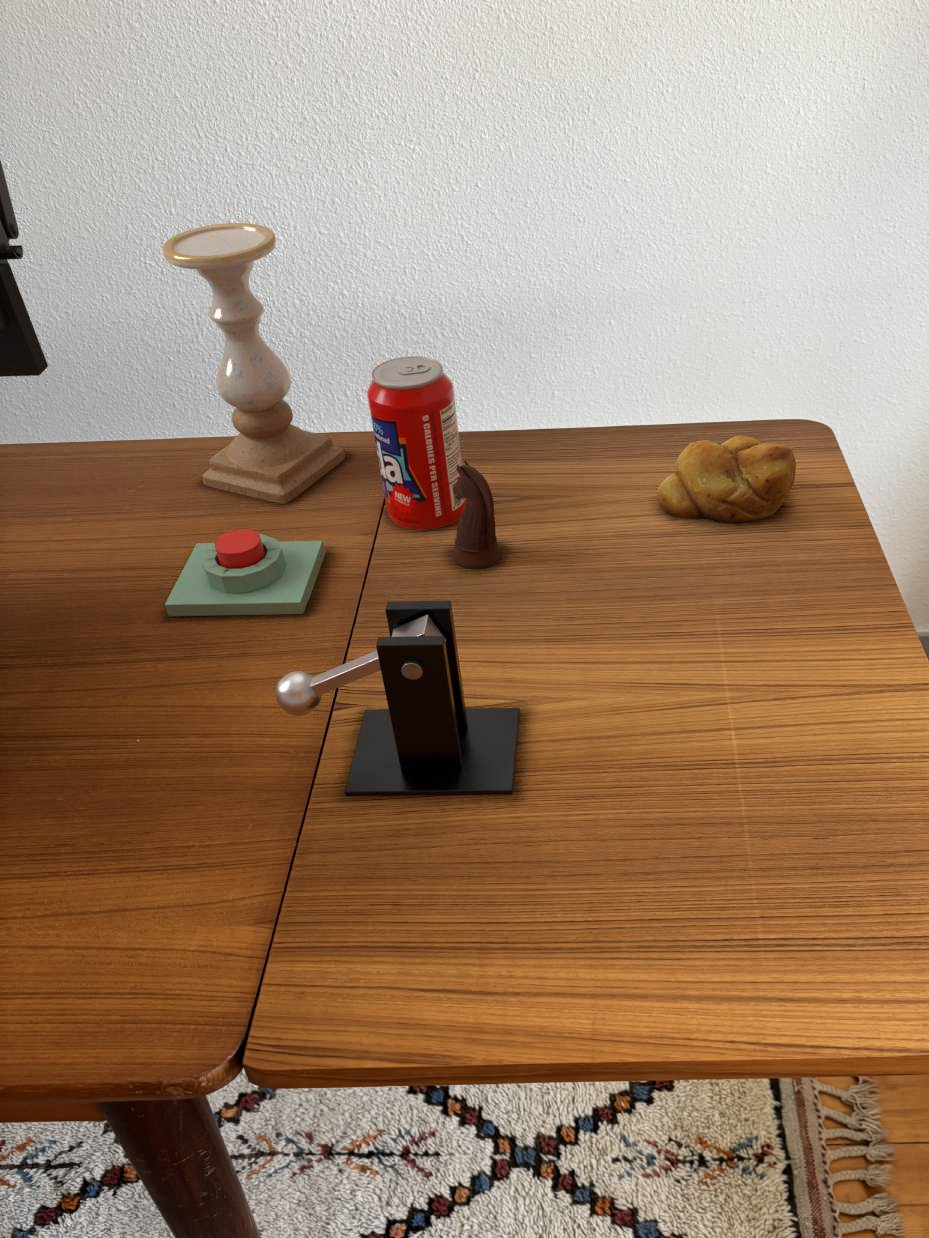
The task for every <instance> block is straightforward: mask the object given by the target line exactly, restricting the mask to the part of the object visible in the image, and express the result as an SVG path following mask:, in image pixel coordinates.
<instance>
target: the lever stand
mask: <svg viewBox="0 0 929 1238" xmlns="http://www.w3.org/2000/svg"><path fill="white" fill-rule="evenodd" d="M452 605H453V604H452V600H407V601H406V600H404V601H401V600H400V601H387V602H386V605H385V609H384V611H385V617H386V621H387V622H386V623H387V626H388V633H389V636H378V637H377V640H376V644H375V649H376V650H377V654H378V658H379V663H380V668H381V670H380V672H381V677H382V683H383V687H384V692H385V698H386V702H387V707H388V708H387V709H383V708H382V709H365V710H364V713H363V717H362V721H361V724H360V728H359V733H358V737H357V741H356V743H355V749H354V752H353V756H352V760H351V765H350V769H349V772H348V776H347V780H346V784H345V789H344V796H345V797H389V796H390V797H393V796H394V797H396V796H397V797H398V796H406V797H407V796H408V797H409V796H487V795H488V796H492V795H493V796H503V795H504V796H505V795H507V796H508V795H514V785H515V774H516V773H515V772H516V763H517V751H518V740H519V739H518V738H519V727H520V717H521V709H520V707H477V708H476V707H473V708H472V707H471V708H466V701H465V693H464V686H463V680H462V672H461V665H460V664H461V663H460V657H459V650H458V644H457V643H458V642H457V636H456V635H457V634H456V627H455V621H454V615H453V613H454V612H453V606H452ZM425 615H429V617H430V618H431V620H432V621H433V622H434V624H435V625H436V626H437V628H438V629H439V631H440V632H441V633H442V635H443V636H406V637H392V633H393V629H395V628H397V627H399V626H402V625H404V624H406V623H409V622H411V621H413V620H416V619H418V618H420V617H423V616H425ZM445 639H446V643H445Z"/></svg>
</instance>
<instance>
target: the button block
mask: <svg viewBox="0 0 929 1238" xmlns="http://www.w3.org/2000/svg"><path fill="white" fill-rule="evenodd" d="M258 534H259V535H260V537H261V541H262V544H263V548H264V552H265V557H264V559H263V560H261V561H260V562H258V563H257V564H255V565H252V566H249V567H245V568H242V569H228V568H225V567H222V566H221V564H220V562H219V559H218V556H217V552H216V549H215V542H197V543H196V544H195V546H194V548H193V549H192V551H191V554H190V555H189V558H188V559H187V561H186V563H185V565H184V567H183V569H182V571H181V572H180V575H179V577H178V579H177V580H176V582H175V584H174V586H173V588H172V590H171V592H170V593H169V596H168V597H167V599H166V601H165V603H164V608H165V610H166V613H167V616H168V617H198V616H199V617H201V616H204V617H205V616H206V617H207V616H209V617H210V616H257V615H258V616H260V615H261V616H262V615H266V616H267V615H303V614H305V611H306V607H307V604H308V602H309V601H310V598H311V595H312V593H313V590H314V587H315V584H316V581H317V578H318V576H319V573H320V570H321V567H322V565H323V561H324V559H325V556H326V550H325V545H324V541H323V540H292V541H291V540H289V541H278V540H277V539H276V538H275V537H271V536H268V535H266V534H262V533H258Z"/></svg>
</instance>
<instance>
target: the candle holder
mask: <svg viewBox="0 0 929 1238" xmlns="http://www.w3.org/2000/svg"><path fill="white" fill-rule="evenodd" d="M276 246H277V236H276V233H275V232H274V231H273V230H272V229H270V228H269V227H267V226H264V225H261V224H256V223H250V222H249V223H247V222H229V223H228V222H227V223H218V224H210V225H204V226H199V227H195V228H192V229H188V230H185V231H183V232H180V233H177V234H175V235H173V236H171V237H170V238H168V239H167V240H166V241H165V242H164V244H163V246H162V248H161V249H162V250H161V251H162V254H163V257H164V259H165V261H167V262H168V263H169V264H171V265H172V266H174V267H179V268H181V269H186V270H195V271H196V273H197V274H198V275H199V276H200V277H201V278H202V279H203V280H205V281H206V283H207V284H208V285H209V287H210V290H211V293H212V302H211V304H210V305H211V306H210V308H209V310H208V318H209V319H210V320H211V322H213V323H215V324H216V325H215V326H217V328H218V329H219V330H220V331H221V332H222V334H223V336H224V338H225V339H224V349H223V352H222V355H221V358H220V362H219V364H218V367H217V370H216V374H215V387H216V390H217V392H218V395H219V397H220V398H221V399H222V400H223V401H224V403H226V404H228V405H229V406H231V407H233V408H234V409H233V411H232V414H231V422H232V425H233V427H234V429H235V430H236V431H237V432H239V433H238V434H237V435H236V436H235V437H234V438H233V440H232V441H231V442H230V443H229V444H228V445H226V446H225V447H223V448H222V449H220V450H219V451H217V452H216V453H215V454H214V455H213V456H211V457H210V459H209V461H208V462H207V463H208V466H209V469H208V470H206V471H205V472H204V473H202V475H201V479H202V481H203V485H205V486H207V487H210V488H214V489H218V490H222V491H226V492H230V493H234V494H239V495H243V496H247V497H251V498H255V499H260V500H264V501H267V502H273V503H278V504H284V505H285V504H287V503H290V502H291V501H292V500H294V499H295V498H297V497H299V495H300V494H302V493H303V492H304V491H306V490H307V489H308V488H310V487H311V486H312V485H313V484H314V483H316V482H317V481H318V480H320V479H321V478H322V477H324V476H325V475H326V474H327V473H329V472H330V471H332V470H333V469H334V468H336V467H337V466H338V465H339V464H341V462H342V461H344V460H345V459H346V453H345V450H344V448H342V447H339V446H335V445H334V443H333V439H332V438H331V437H329V436H328V435H324V434H320V433H317V432H312V431H309V430H305V429H302V428H301V427H298V426H296V425H294V424H292V422H293V418H294V412H293V409H292V408H291V406H290V405H289V404H288V402H286V401H285V400H284V399H285V398H286V397H287V395H288V394H289V392H290V390H291V387H292V378H291V377H292V376H291V373H290V371H289V369H288V367H287V365H286V364H285V362H284V361H283V360H282V358H280V356H279V355H278V354H277V353H276V352H275V351H274V350H273V349H272V348H271V347H270V346H269V344H268V343H267V342H266V341H265V339H264V338H263V337H262V335H261V333H260V323H261V321H262V315H263V314H264V312H265V306H264V304H263V303H262V302H261V301H260V300H259V299H258V298H257V297H256V296H255V295H254V293H253V291H252V289H251V287H250V275H251V273H252V271H253V269H254V266H255V261H258V260H261V259H263V258H265V257H266V256H268V255H270V254H272V252H273V251H274V250H275V249H276Z"/></svg>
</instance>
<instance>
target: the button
mask: <svg viewBox="0 0 929 1238" xmlns="http://www.w3.org/2000/svg"><path fill="white" fill-rule="evenodd" d="M259 534H260V533H258V532H257V531H256V530H252V529H245V528H243V529H235V530H230V531H228V532H226V533H224V534H222V535H220V536H219V537H218V538H216V540H215V542H214V543H215V549H216V552H217V556H218V559H219V562H220V564H221V566H222V567H225V568H228V569H242V568H245V567H249V566H252V565H255V564H257V563H258V562H260V561H261V560H263V559H264V557H265V552H264V548H263V544H262V541H261V537H260V535H259Z"/></svg>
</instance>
